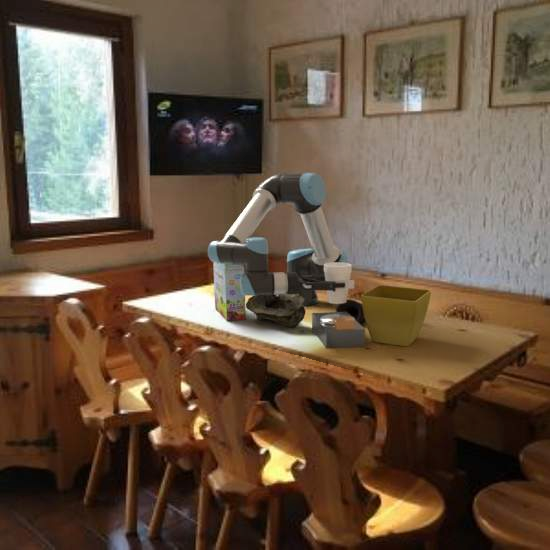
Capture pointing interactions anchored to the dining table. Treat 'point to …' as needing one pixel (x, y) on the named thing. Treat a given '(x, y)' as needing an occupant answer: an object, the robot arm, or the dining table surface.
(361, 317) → the pipe
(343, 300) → the foam cup
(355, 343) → the block
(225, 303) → the snack box
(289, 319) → the moss-covered rock
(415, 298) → the flower pot
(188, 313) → the dining table surface
